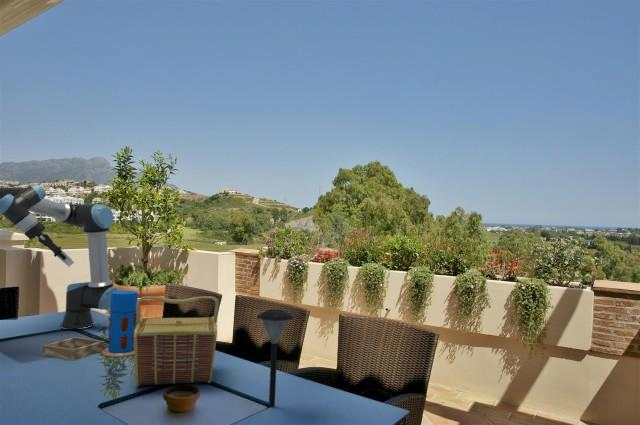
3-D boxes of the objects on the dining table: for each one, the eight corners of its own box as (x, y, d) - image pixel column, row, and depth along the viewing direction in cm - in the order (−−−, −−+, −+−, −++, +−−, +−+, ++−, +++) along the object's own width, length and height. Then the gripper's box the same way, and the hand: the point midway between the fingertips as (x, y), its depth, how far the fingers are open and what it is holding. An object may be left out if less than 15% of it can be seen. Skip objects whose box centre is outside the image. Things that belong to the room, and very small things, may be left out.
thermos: (139, 347, 206) (142, 291, 207) (127, 354, 195) (130, 294, 196) (116, 346, 207) (119, 290, 208) (102, 352, 196) (105, 293, 197)
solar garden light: (291, 399, 154) (295, 308, 155) (290, 414, 142) (294, 315, 142) (254, 398, 153) (258, 307, 154) (250, 413, 141) (254, 314, 142)
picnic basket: (127, 393, 154) (131, 302, 154) (136, 369, 178) (140, 291, 179) (217, 388, 161) (221, 302, 162) (214, 366, 186) (217, 291, 187)
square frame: (75, 345, 207) (75, 336, 207) (104, 350, 202) (104, 341, 202) (42, 355, 192) (43, 345, 192) (73, 360, 186) (73, 350, 186)
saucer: (120, 345, 211) (120, 343, 211) (149, 349, 206) (149, 348, 206) (92, 353, 196) (92, 352, 196) (123, 358, 191) (123, 357, 191)
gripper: (24, 232, 201) (61, 266, 208) (22, 234, 180) (64, 272, 187) (39, 220, 204) (75, 254, 211) (39, 221, 182) (80, 259, 190)
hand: (70, 263), depth 199 cm, fingers open, 13 cm apart
